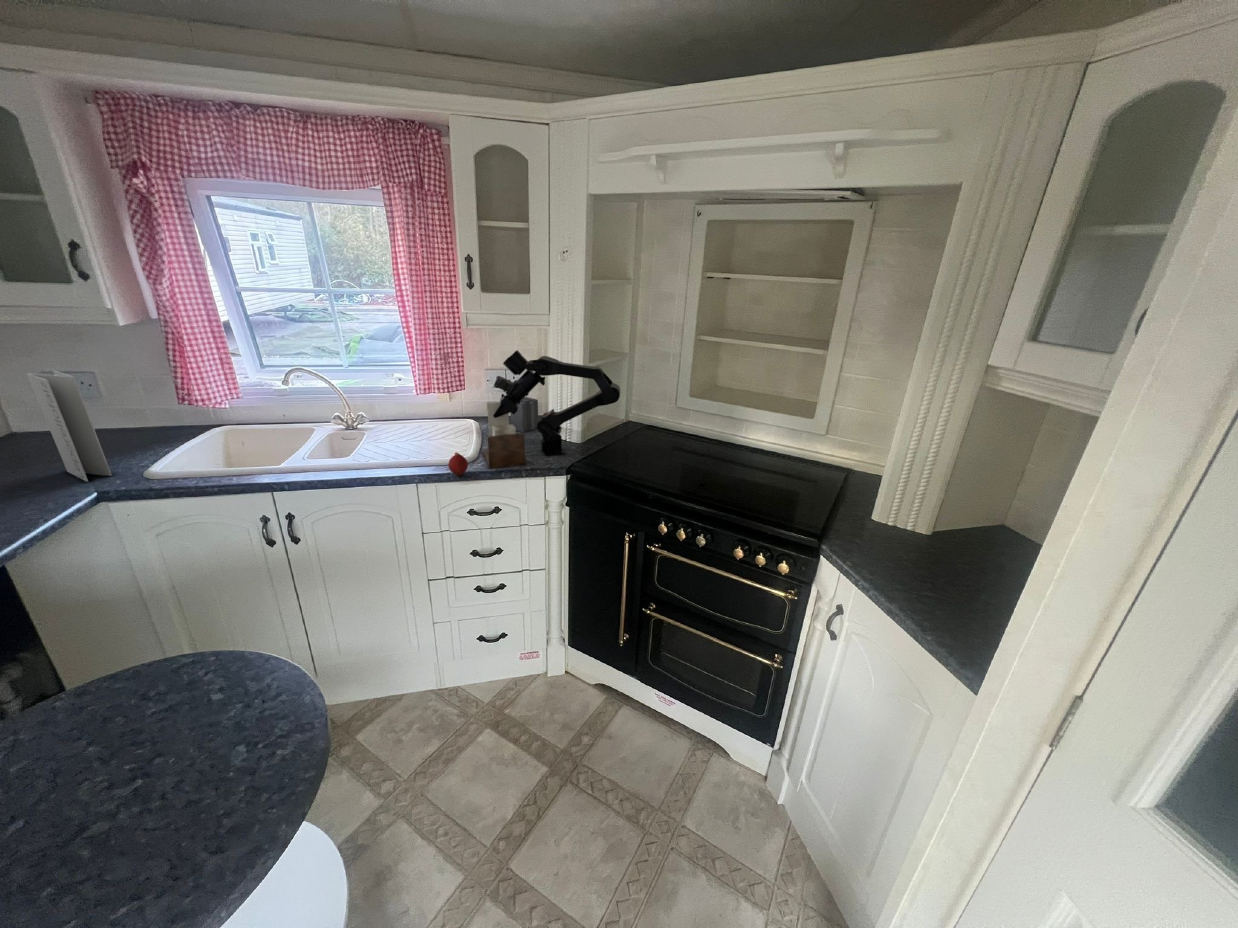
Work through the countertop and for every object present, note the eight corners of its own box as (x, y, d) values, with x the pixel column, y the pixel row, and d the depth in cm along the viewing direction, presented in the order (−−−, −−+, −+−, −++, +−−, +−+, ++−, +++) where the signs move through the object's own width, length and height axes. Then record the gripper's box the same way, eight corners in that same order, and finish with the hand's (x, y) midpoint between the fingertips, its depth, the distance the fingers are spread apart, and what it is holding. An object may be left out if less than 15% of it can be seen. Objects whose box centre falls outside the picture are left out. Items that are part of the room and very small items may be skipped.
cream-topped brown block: (515, 449, 182) (514, 415, 178) (525, 464, 169) (523, 428, 164) (482, 452, 178) (480, 417, 173) (489, 468, 164) (487, 431, 160)
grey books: (526, 424, 211) (525, 395, 206) (538, 427, 207) (537, 398, 203) (510, 429, 204) (509, 399, 199) (523, 432, 200) (522, 402, 196)
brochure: (67, 471, 150) (26, 373, 139) (91, 465, 154) (54, 370, 143) (87, 481, 144) (46, 380, 133) (112, 475, 148) (74, 376, 137)
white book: (489, 434, 177) (487, 401, 173) (509, 433, 178) (507, 401, 174) (489, 436, 175) (486, 403, 171) (509, 435, 176) (507, 403, 172)
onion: (460, 470, 162) (458, 447, 159) (472, 475, 159) (470, 451, 156) (445, 476, 157) (443, 452, 154) (457, 480, 154) (455, 457, 151)
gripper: (508, 363, 177) (479, 393, 180) (505, 374, 160) (473, 407, 163) (531, 385, 181) (503, 414, 184) (530, 397, 164) (498, 429, 167)
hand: (494, 415), depth 174 cm, fingers closed on white book, 2 cm apart
